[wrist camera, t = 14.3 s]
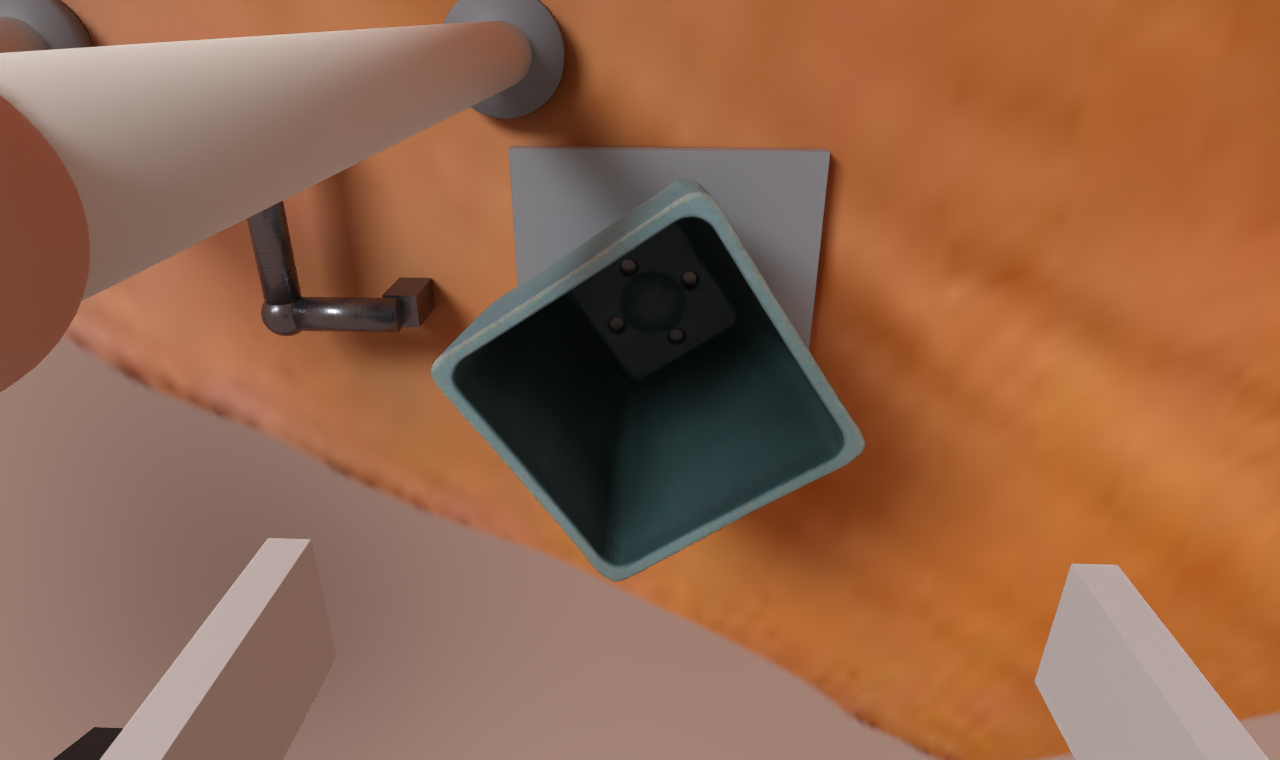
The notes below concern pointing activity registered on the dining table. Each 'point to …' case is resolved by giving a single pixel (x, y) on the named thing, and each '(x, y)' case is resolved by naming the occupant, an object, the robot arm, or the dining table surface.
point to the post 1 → (40, 26)
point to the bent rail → (294, 313)
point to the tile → (628, 176)
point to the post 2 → (220, 139)
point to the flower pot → (649, 386)
